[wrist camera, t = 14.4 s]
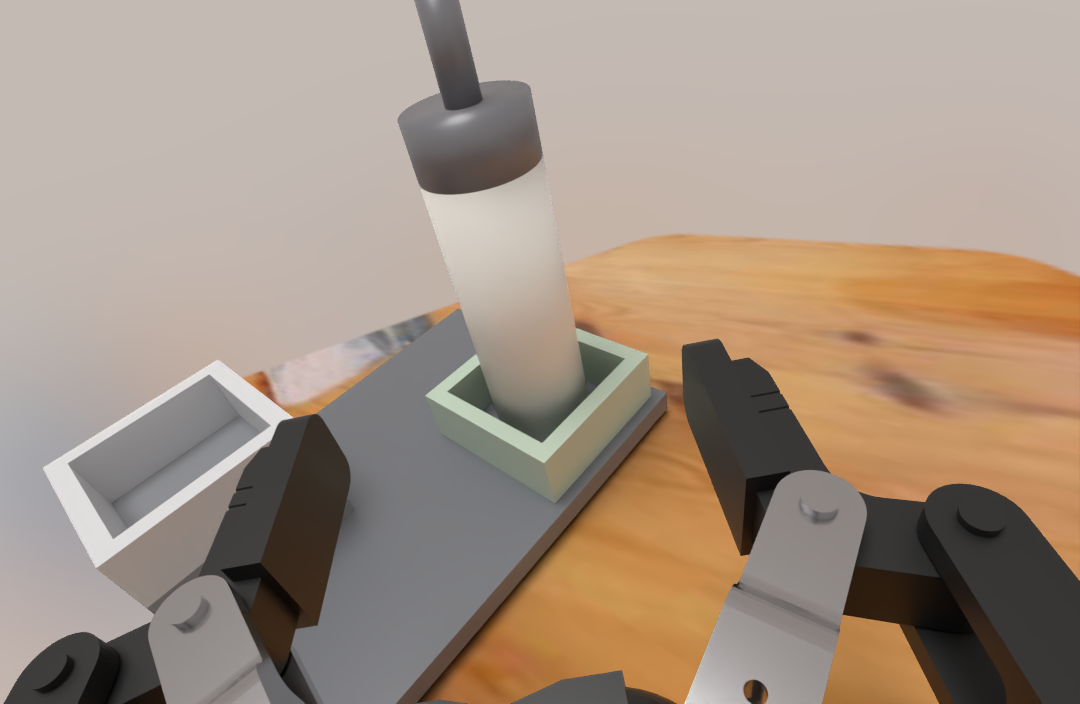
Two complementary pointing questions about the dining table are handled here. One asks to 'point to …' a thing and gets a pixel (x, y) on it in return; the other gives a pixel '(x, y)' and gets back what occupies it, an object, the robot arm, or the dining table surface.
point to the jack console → (366, 498)
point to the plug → (496, 228)
